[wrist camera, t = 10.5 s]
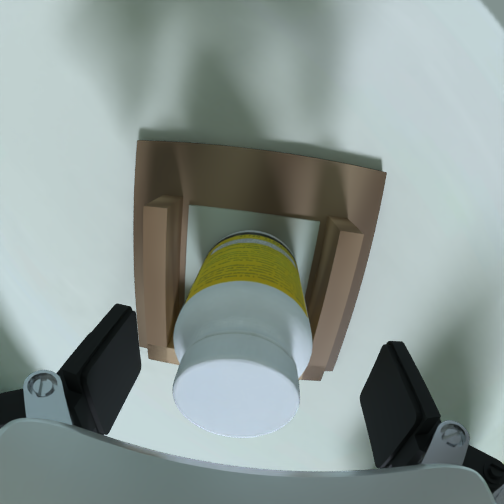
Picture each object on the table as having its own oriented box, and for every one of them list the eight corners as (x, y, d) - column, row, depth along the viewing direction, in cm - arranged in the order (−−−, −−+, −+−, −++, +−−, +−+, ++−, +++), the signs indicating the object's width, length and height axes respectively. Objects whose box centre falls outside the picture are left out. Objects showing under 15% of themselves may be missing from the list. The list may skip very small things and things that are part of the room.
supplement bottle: (193, 236, 17) (123, 342, 8) (290, 220, 16) (321, 320, 7) (215, 318, 19) (182, 449, 10) (302, 306, 18) (327, 440, 9)
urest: (382, 171, 16) (409, 179, 13) (331, 365, 21) (339, 400, 17) (141, 140, 16) (113, 141, 13) (142, 341, 21) (125, 373, 17)
